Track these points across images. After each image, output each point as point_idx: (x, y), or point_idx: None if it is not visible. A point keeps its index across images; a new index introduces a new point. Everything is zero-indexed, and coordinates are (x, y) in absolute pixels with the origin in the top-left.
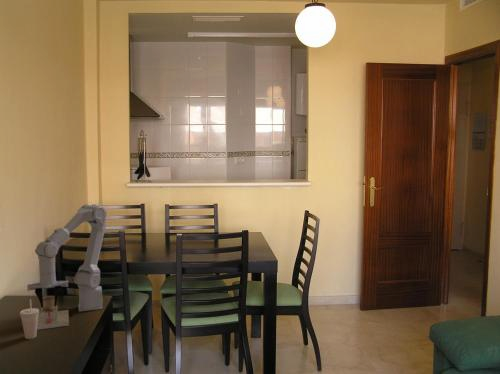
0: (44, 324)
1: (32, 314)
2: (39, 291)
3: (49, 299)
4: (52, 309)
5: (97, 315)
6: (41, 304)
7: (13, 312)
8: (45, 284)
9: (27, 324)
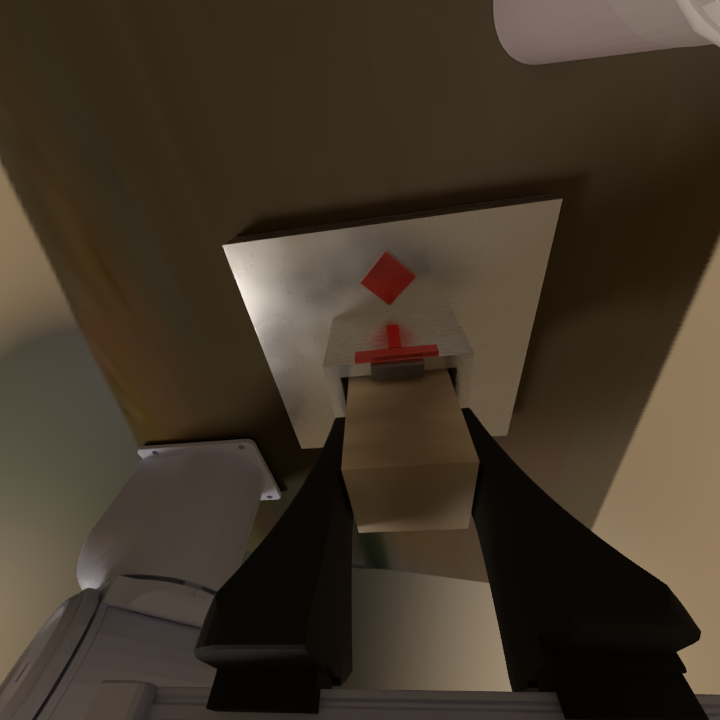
0: (422, 235)
1: None
2: (606, 640)
3: (398, 475)
4: (366, 381)
5: (116, 373)
6: (480, 429)
7: (568, 491)
8: None
9: None
